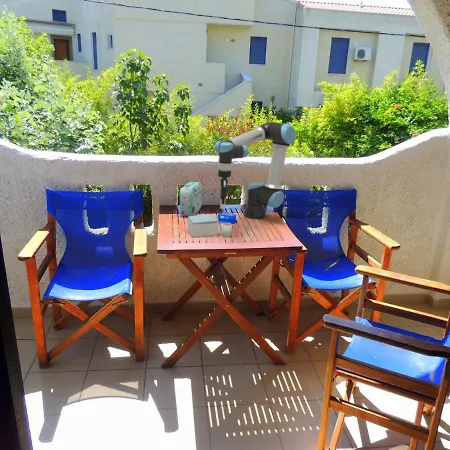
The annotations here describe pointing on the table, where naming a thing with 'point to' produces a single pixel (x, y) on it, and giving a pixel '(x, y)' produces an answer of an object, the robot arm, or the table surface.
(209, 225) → the crate
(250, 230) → the table surface
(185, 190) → the lunch box
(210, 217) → the lid
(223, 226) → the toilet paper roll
